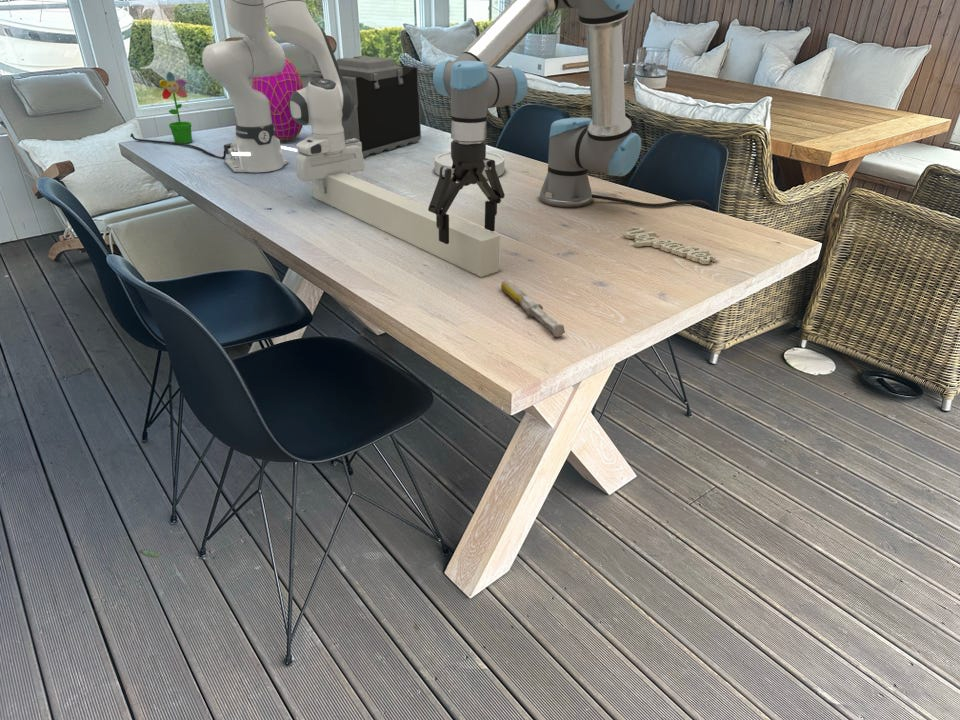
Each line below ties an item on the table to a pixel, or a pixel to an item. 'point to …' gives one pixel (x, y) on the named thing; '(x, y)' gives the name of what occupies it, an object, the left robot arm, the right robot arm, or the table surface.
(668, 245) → the decorative sign
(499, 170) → the ashtray
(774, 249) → the table surface
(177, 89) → the potted flower
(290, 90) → the decorative egg
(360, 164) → the left robot arm
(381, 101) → the cooler box
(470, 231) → the post
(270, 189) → the table surface
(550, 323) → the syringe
